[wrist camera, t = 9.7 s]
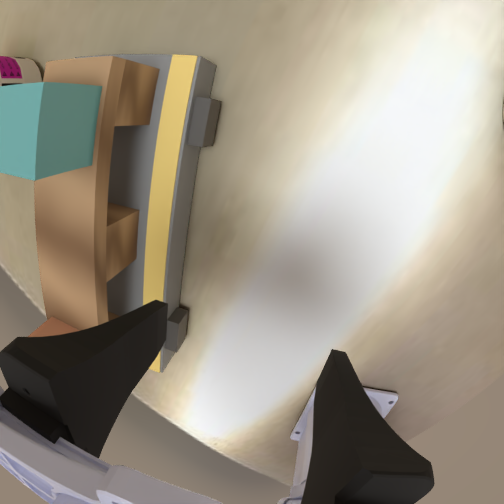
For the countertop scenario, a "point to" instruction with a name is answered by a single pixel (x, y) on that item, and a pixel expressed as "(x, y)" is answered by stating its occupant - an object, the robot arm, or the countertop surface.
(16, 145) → the teal crate
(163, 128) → the dock
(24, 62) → the supplement can
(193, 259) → the countertop surface
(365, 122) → the countertop surface
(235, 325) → the countertop surface
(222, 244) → the countertop surface
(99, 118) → the brown long bar
